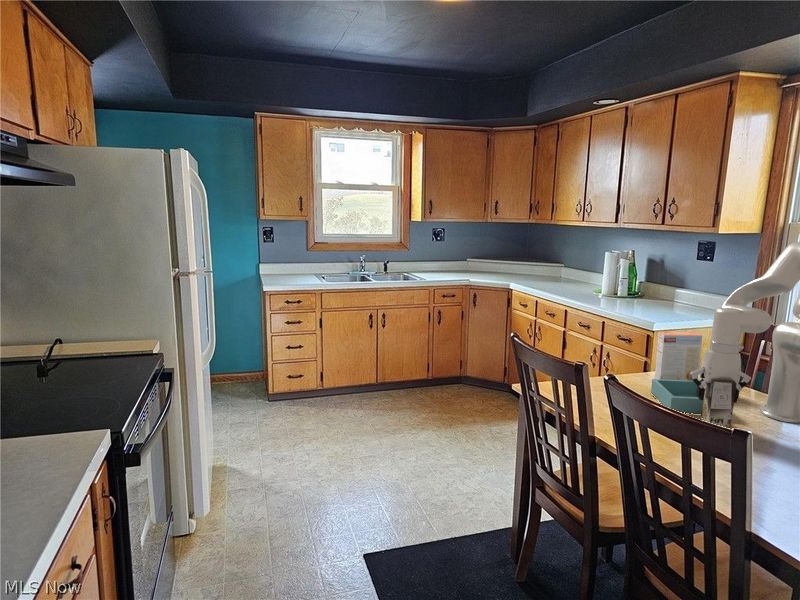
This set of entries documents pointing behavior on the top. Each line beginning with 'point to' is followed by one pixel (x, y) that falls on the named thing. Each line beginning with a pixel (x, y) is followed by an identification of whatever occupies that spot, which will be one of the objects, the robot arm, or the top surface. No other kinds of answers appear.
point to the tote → (677, 395)
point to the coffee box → (719, 402)
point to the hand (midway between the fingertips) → (716, 399)
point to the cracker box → (677, 355)
